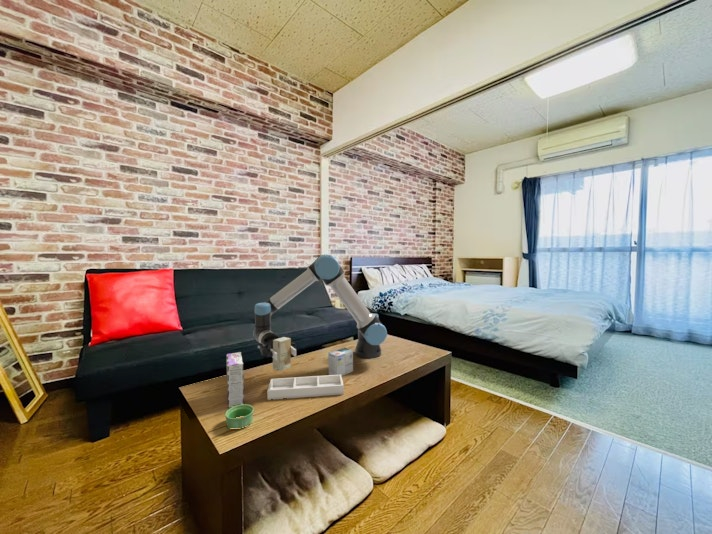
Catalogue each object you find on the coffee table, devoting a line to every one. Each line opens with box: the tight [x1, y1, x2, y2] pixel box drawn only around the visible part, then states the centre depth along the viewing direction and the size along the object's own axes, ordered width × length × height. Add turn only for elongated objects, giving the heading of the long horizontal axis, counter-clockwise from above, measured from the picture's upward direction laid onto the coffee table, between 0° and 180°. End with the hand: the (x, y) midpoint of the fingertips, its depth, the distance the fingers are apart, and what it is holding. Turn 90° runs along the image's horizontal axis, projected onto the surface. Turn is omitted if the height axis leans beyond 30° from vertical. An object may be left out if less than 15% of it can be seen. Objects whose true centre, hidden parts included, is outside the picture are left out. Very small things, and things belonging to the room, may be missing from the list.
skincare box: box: [272, 336, 292, 372], centre depth 120 cm, size 6×4×12 cm
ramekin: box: [224, 403, 255, 429], centre depth 99 cm, size 9×9×4 cm
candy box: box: [226, 351, 245, 408], centre depth 115 cm, size 14×6×16 cm, turn 24°
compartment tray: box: [266, 374, 345, 401], centre depth 122 cm, size 30×11×4 cm, turn 98°
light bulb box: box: [327, 347, 354, 377], centre depth 140 cm, size 11×7×11 cm, turn 134°
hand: (286, 354), depth 115 cm, fingers closed on skincare box, 7 cm apart
